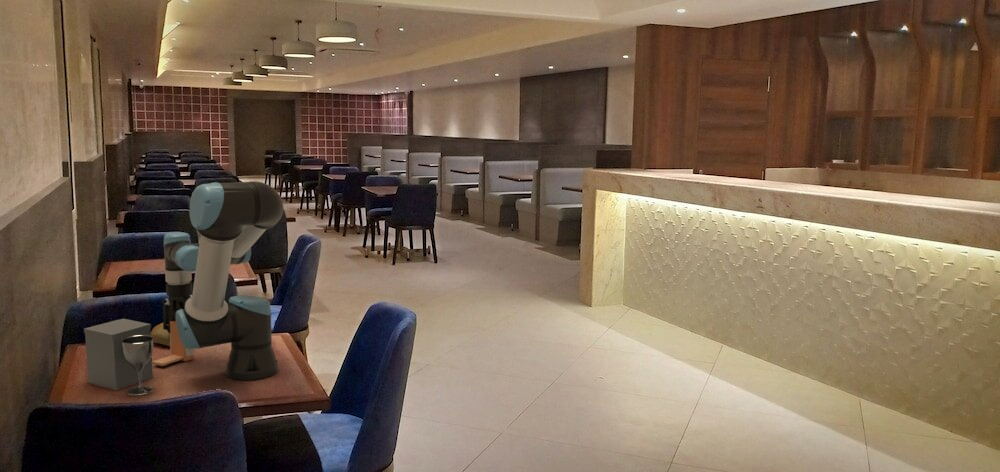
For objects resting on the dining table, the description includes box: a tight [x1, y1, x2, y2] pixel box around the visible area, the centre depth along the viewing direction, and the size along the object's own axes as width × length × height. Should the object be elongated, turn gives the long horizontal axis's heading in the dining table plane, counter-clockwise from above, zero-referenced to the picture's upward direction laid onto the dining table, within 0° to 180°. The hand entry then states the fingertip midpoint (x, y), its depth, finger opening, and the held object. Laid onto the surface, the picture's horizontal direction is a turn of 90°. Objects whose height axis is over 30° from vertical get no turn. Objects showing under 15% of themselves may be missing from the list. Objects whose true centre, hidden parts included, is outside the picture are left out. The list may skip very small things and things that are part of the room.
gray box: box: [83, 318, 154, 391], centre depth 221 cm, size 12×13×16 cm
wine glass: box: [122, 335, 155, 396], centre depth 213 cm, size 8×8×15 cm
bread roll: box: [150, 322, 170, 347], centre depth 256 cm, size 10×15×8 cm, turn 69°
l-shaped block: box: [152, 320, 194, 367], centre depth 237 cm, size 6×11×12 cm, turn 153°
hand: (182, 353), depth 241 cm, fingers closed on l-shaped block, 6 cm apart
